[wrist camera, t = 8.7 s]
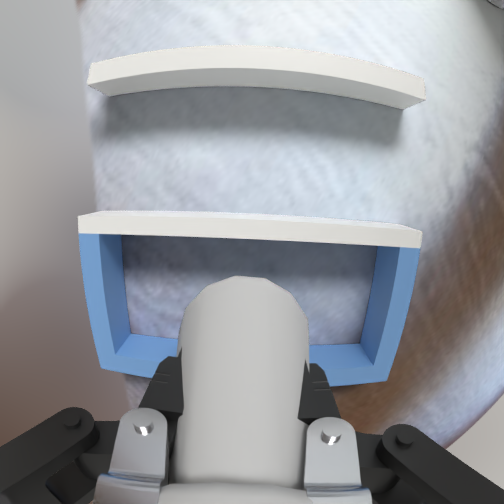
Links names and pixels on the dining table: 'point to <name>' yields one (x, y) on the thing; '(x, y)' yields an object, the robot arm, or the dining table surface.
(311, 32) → the dining table surface
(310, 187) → the dining table surface
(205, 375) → the salt shaker
